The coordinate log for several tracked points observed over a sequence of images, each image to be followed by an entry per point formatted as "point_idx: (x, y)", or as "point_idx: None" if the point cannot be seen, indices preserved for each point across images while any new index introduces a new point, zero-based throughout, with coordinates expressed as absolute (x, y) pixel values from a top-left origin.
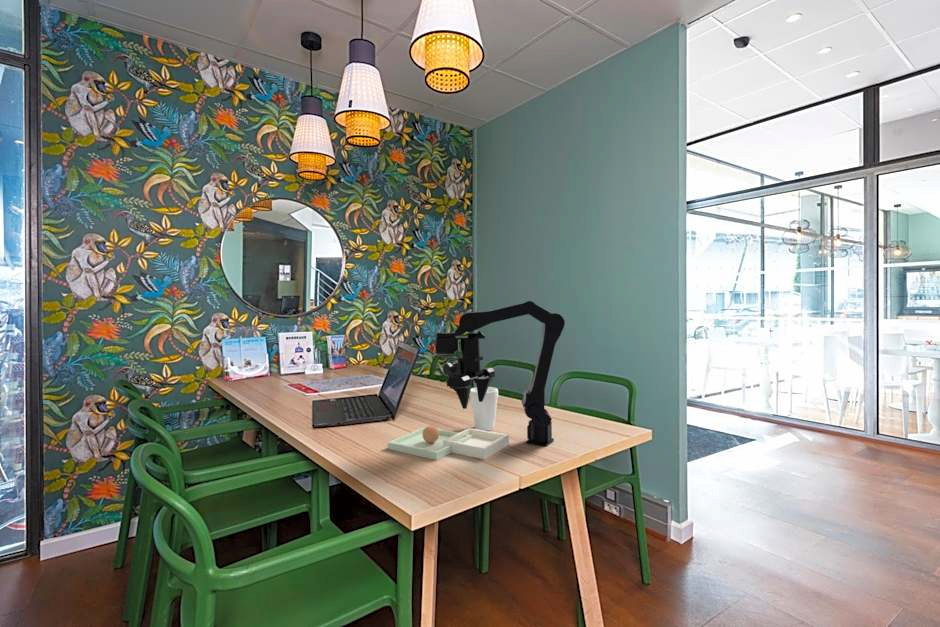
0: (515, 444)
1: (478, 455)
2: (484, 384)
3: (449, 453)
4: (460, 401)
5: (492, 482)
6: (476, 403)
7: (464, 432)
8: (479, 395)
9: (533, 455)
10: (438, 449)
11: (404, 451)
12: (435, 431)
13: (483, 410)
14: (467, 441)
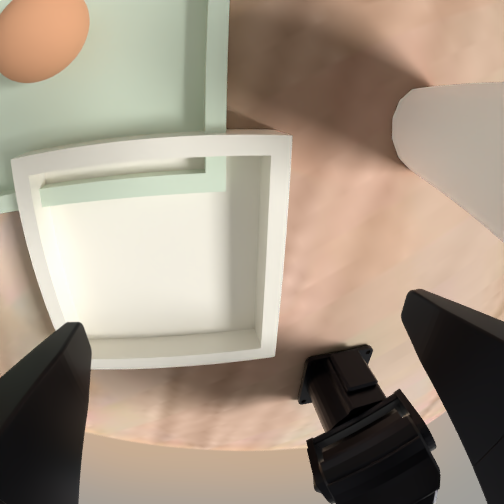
0: (279, 340)
1: None
2: (497, 459)
3: None
4: (14, 371)
5: None
6: (492, 143)
7: (200, 156)
8: (444, 335)
9: (212, 411)
10: (4, 150)
11: None
12: (17, 74)
13: (459, 179)
14: (163, 195)
